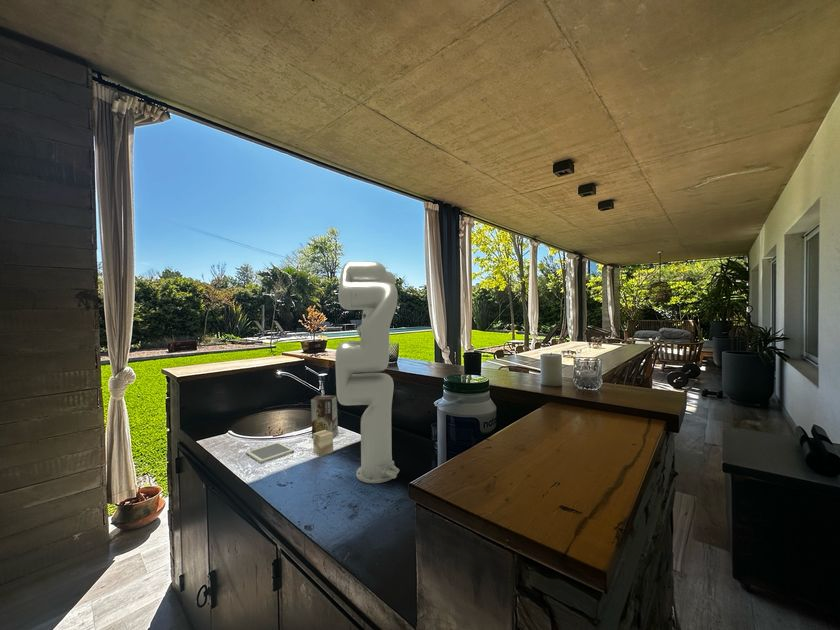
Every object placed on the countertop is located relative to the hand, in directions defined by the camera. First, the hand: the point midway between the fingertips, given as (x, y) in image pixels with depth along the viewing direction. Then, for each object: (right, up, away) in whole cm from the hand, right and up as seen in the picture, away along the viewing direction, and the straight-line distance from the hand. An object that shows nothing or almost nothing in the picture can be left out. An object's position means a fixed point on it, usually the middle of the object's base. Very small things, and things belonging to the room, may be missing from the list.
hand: (373, 346), depth 146 cm
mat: (-35, -37, -22) cm, 55 cm away
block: (-16, -37, -21) cm, 45 cm away
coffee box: (-20, -37, -4) cm, 42 cm away
